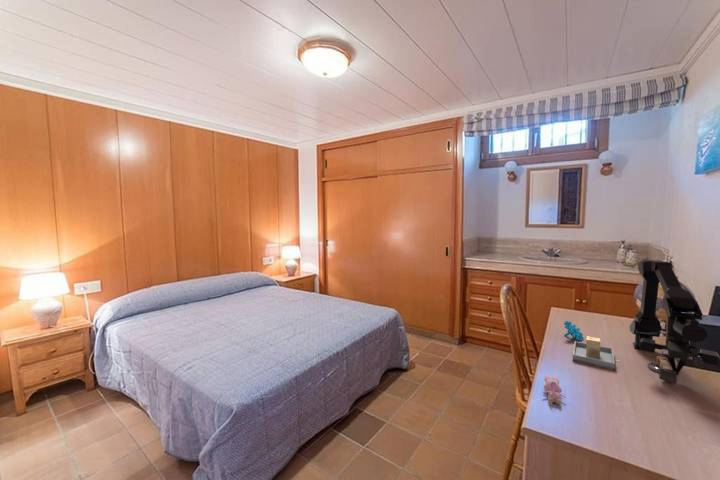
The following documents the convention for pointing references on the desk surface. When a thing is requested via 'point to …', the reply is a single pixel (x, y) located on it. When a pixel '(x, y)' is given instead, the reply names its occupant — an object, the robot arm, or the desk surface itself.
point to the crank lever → (665, 370)
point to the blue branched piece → (573, 331)
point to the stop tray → (604, 361)
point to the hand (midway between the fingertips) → (675, 374)
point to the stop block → (593, 347)
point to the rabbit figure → (553, 390)
